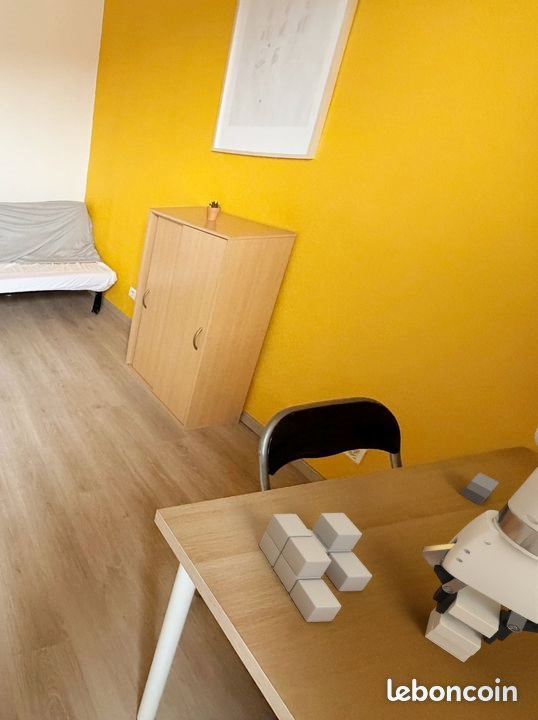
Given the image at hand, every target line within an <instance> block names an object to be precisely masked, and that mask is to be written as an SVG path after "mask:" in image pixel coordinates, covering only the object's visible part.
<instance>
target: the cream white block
mask: <svg viewBox="0 0 538 720" xmlns="http://www.w3.org/2000/svg"><path fill="white" fill-rule="evenodd" d="M501 607H502V604H500V603H498V602H497V601H495V600H493V599H491V598H490V597H488V596H486V595H484V594H483V593H481V592H479V591H477V590H476V589H474V588H472V587H471V586H469V585H468V586H466V587H465V588H463V589H461V590H459V591H458V593H457V598H456V600H455V601H454V602H453V603H452V604H451V605H450V606H449V608H448V613H449V614H451V615H453V616H454V617H456V618H457V619H459V620H461V621H462V622H464V623H466V624H467V625H469V626H470V627H472V628H474V629H475V630H477V631H478V632H480V633H481V635H485V636H487V637H488V638H490V637H491V636H493V635H494V634H495V633H496V632H497V631H498V627H499V617H500V610H501Z"/></svg>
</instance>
